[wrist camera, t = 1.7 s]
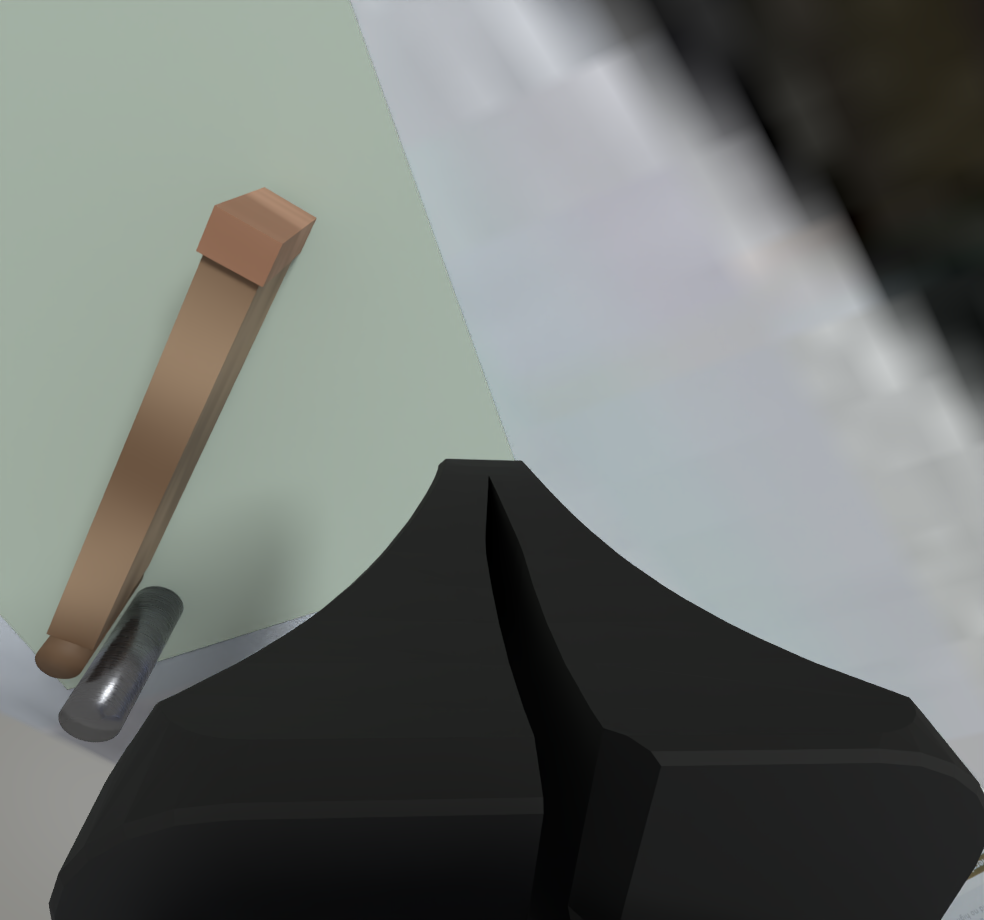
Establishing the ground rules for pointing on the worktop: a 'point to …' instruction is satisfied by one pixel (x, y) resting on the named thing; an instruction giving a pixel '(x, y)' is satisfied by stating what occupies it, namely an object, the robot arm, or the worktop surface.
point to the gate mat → (165, 282)
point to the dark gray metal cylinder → (122, 666)
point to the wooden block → (176, 415)
